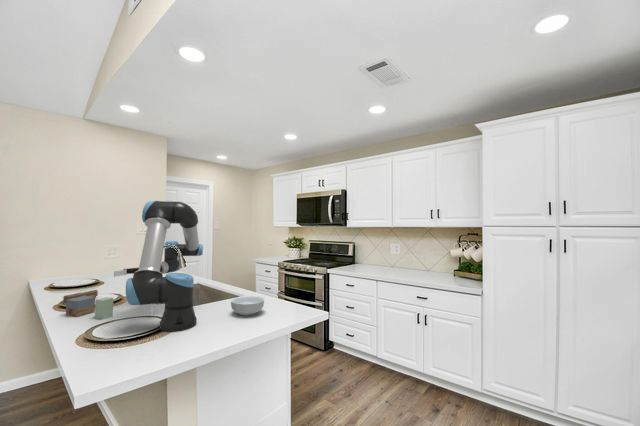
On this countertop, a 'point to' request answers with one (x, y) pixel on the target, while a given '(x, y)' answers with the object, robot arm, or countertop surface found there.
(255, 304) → the cereal bowl
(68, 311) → the tower base
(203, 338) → the countertop surface
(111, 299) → the green pillar
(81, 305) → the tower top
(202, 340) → the countertop surface
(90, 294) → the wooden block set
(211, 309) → the countertop surface
